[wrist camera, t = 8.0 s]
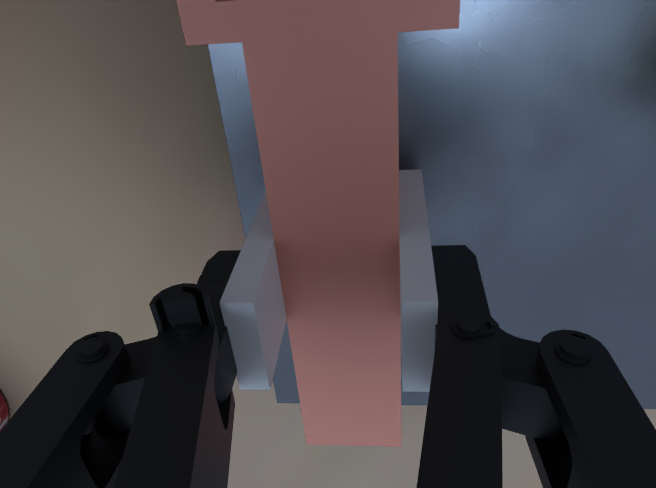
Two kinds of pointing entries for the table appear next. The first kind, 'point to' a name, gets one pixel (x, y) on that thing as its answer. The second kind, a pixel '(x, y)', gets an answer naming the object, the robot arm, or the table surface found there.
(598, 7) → the plate
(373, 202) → the link
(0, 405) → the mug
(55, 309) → the table surface
